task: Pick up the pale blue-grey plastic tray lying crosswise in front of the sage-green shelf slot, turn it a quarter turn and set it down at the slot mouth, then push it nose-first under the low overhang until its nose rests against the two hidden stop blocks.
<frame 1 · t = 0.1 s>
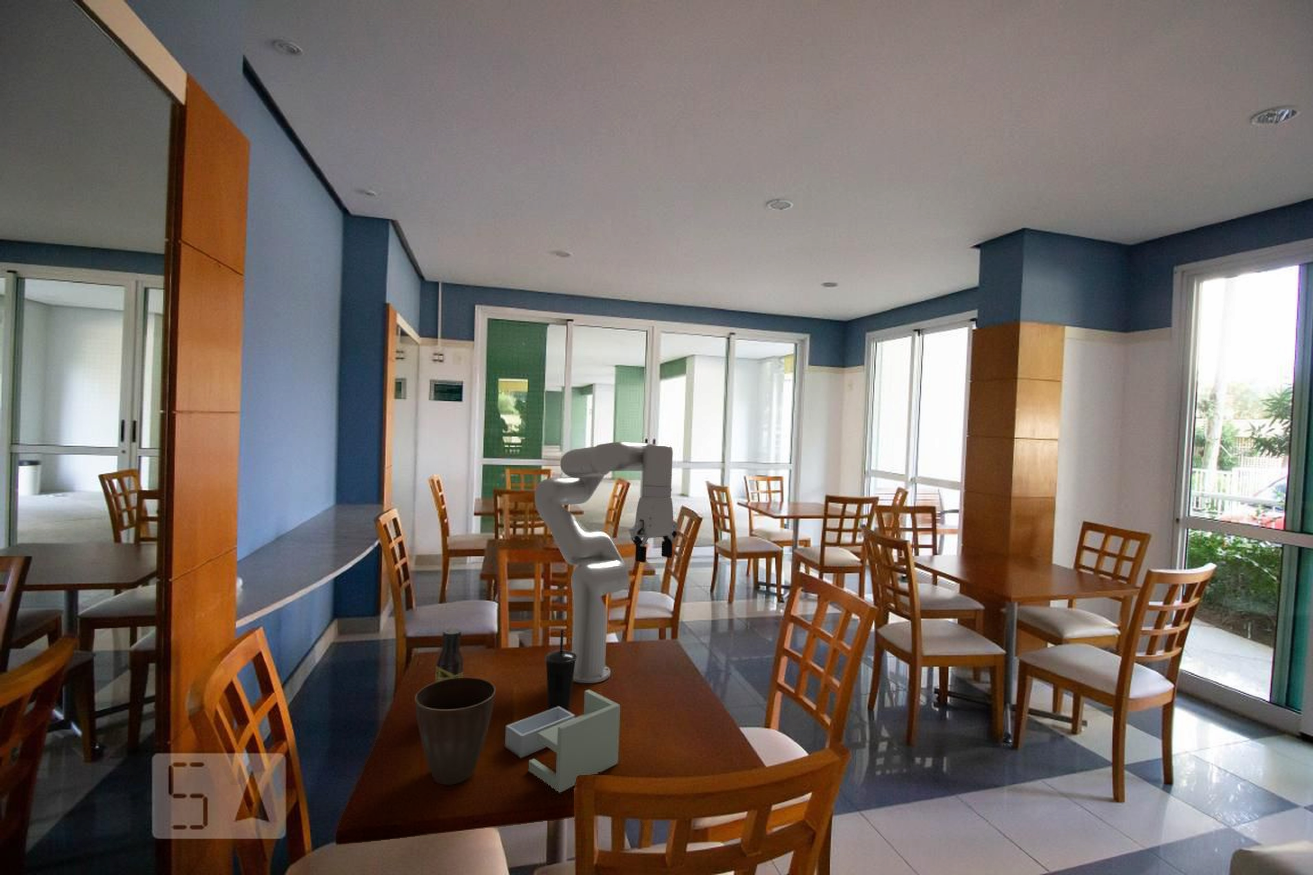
hand: (653, 559, 149), 37 cm above the table, tool pointing down, fingers open, 9 cm apart
drinking cup: (558, 713, 142), on the table
tray: (540, 740, 128), on the table
plant pot: (452, 774, 114), on the table
sauce bottle: (447, 714, 139), on the table
shelf slot: (574, 766, 118), on the table
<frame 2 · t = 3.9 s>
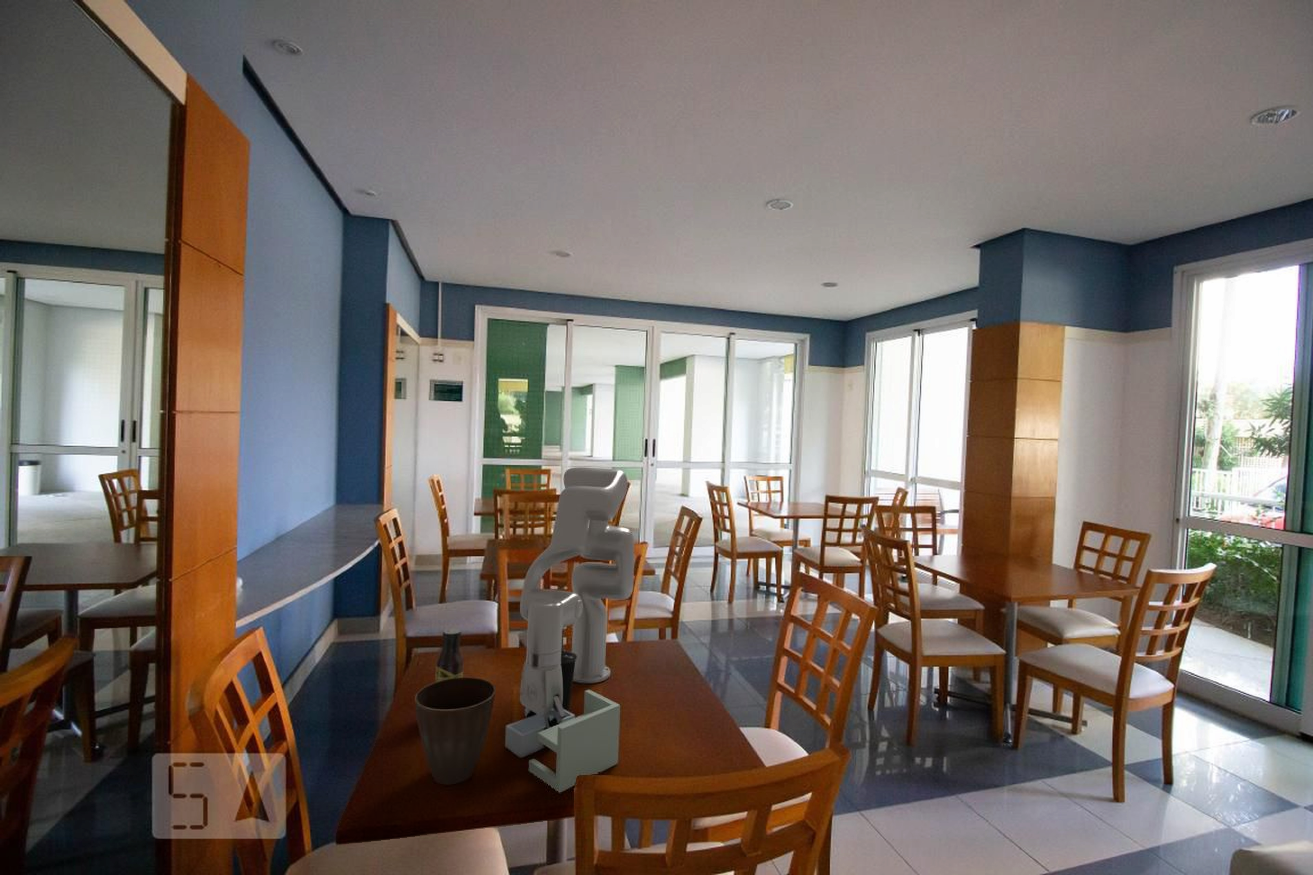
hand: (540, 737, 128), 1 cm above the table, tool pointing down, fingers closed on tray, 6 cm apart
tray: (540, 740, 128), on the table, touching gripper
everything else where it was.
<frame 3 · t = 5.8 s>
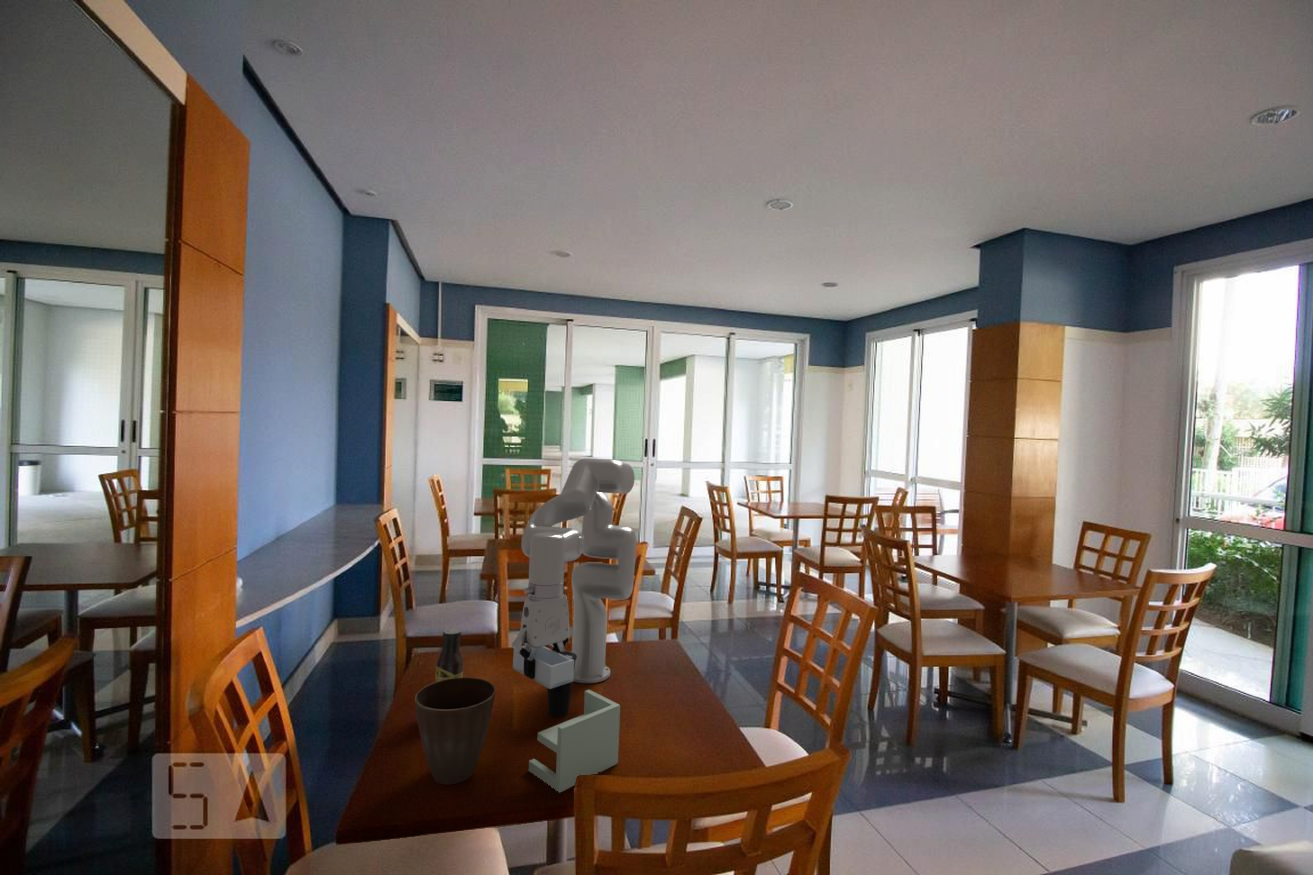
hand: (542, 671, 127), 16 cm above the table, tool pointing down, fingers closed on tray, 6 cm apart
tray: (542, 674, 127), point 15 cm above the table, touching gripper
everything else where it was.
when the fingers open (2 cm above the table, at t = 7.9 s): tray stays where it is, on the table.
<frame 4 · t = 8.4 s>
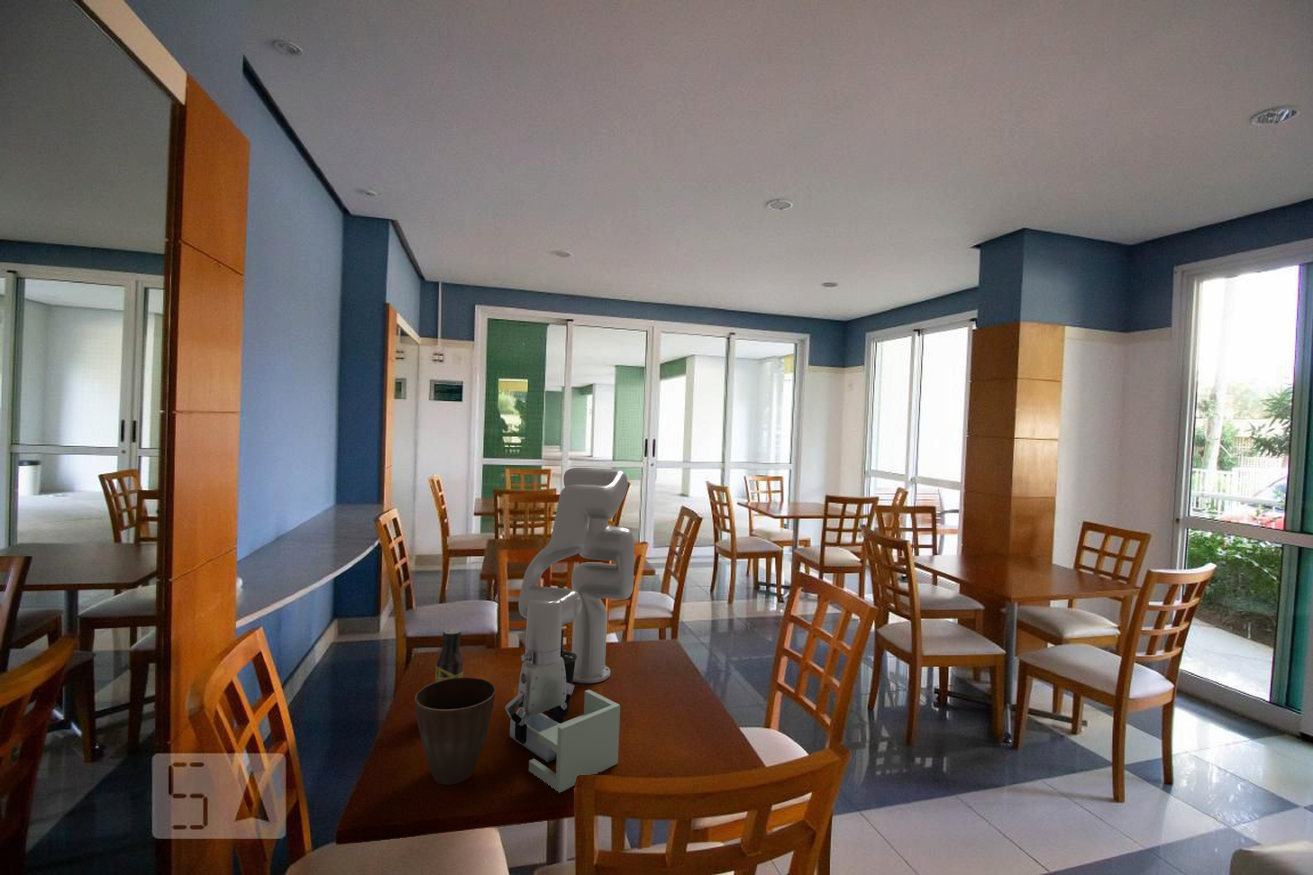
hand: (539, 733, 127), 2 cm above the table, tool pointing down, fingers open, 9 cm apart
tray: (539, 743, 127), on the table
everything else where it was.
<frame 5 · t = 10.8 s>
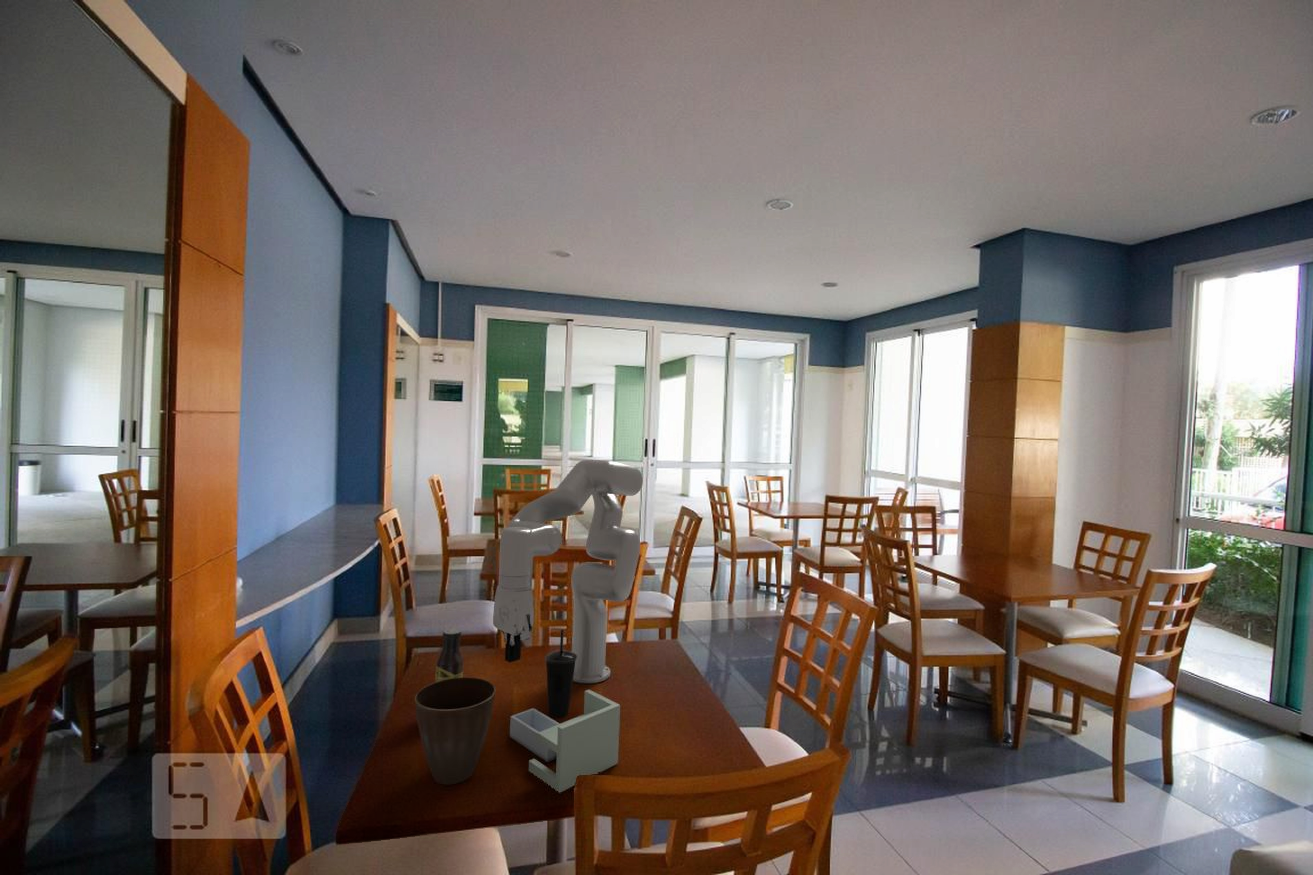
hand: (512, 659, 135), 15 cm above the table, tool pointing down, fingers closed
nothing on the table moved.
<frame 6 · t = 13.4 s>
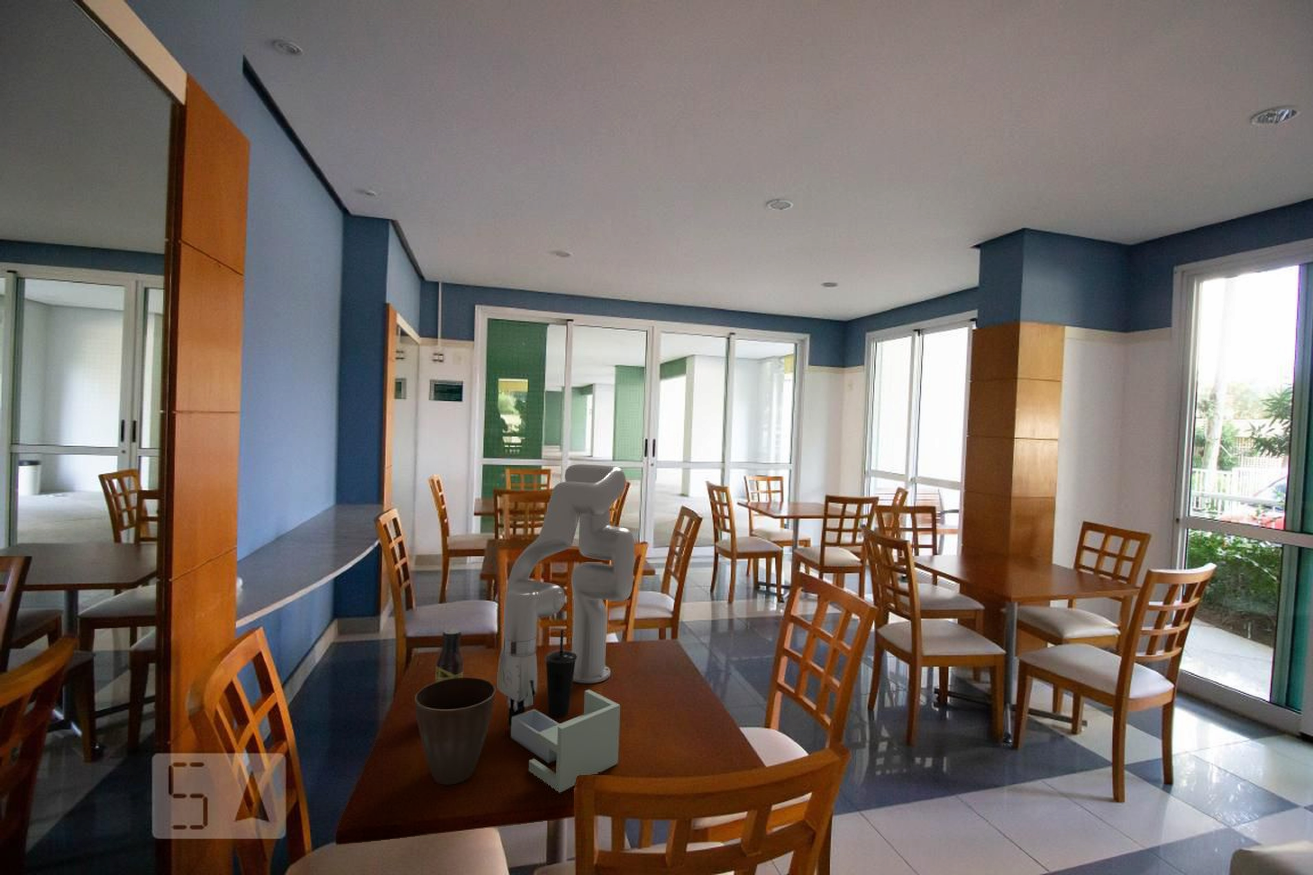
hand: (516, 724, 133), 1 cm above the table, tool pointing down, fingers closed
tray: (540, 744, 126), on the table, touching gripper
everything else where it was.
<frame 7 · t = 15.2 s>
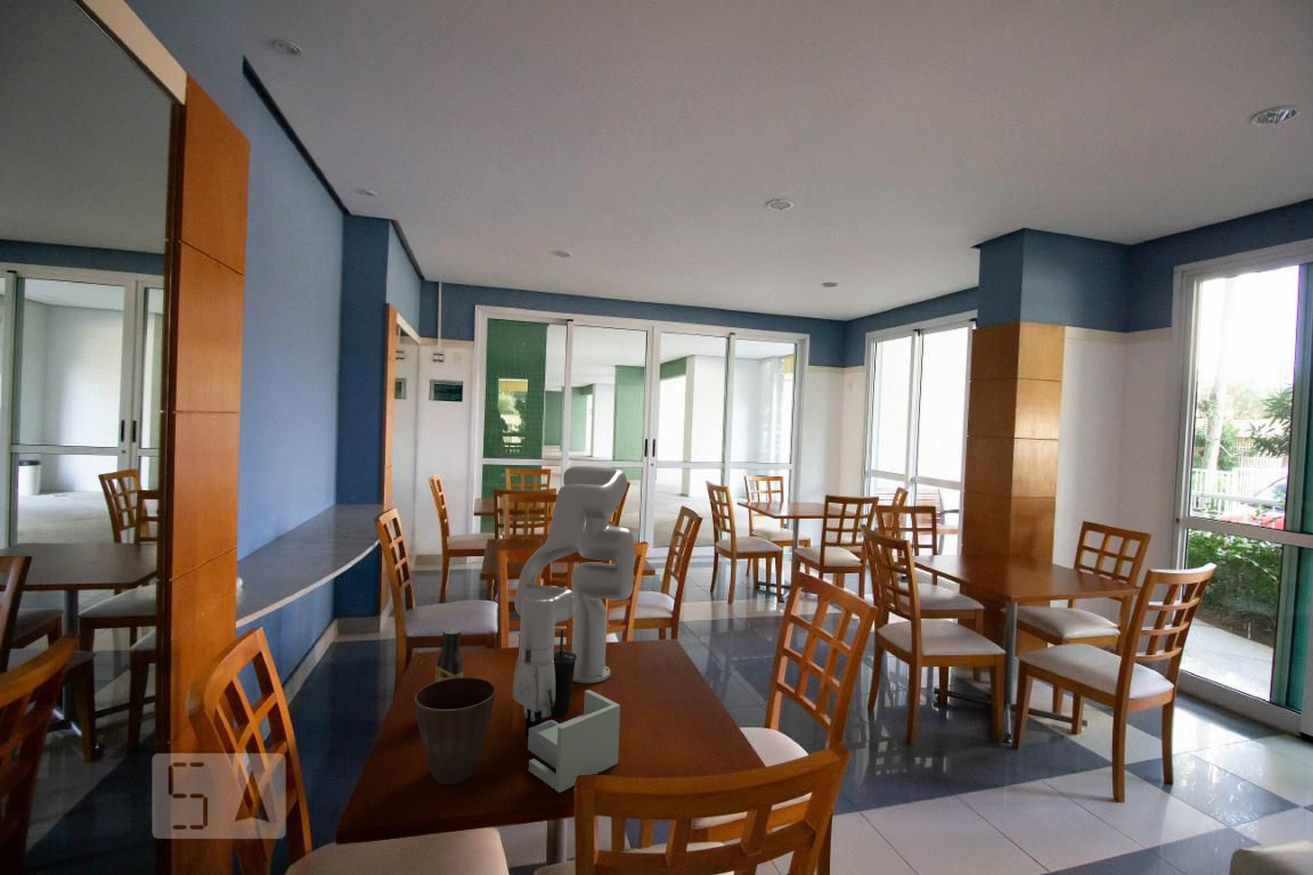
hand: (533, 735, 128), 1 cm above the table, tool pointing down, fingers closed
tray: (559, 757, 122), on the table, touching gripper, shelf slot
everything else where it was.
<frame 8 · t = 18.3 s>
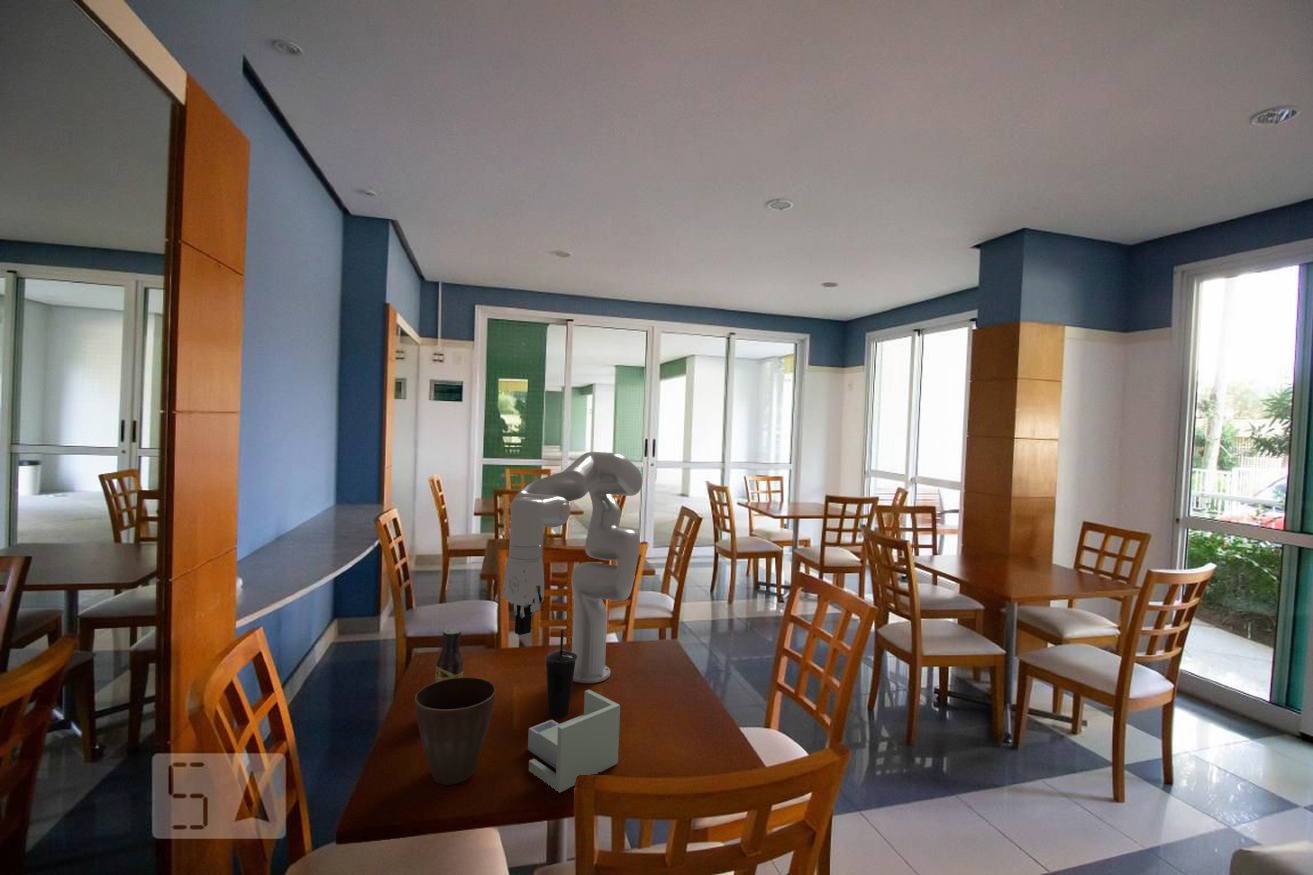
hand: (522, 632, 132), 22 cm above the table, tool pointing down, fingers closed
tray: (559, 757, 122), on the table, touching shelf slot
everything else where it was.
at the end: tray 0.2 cm from the target spot, on the table; tray tilted 0° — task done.
